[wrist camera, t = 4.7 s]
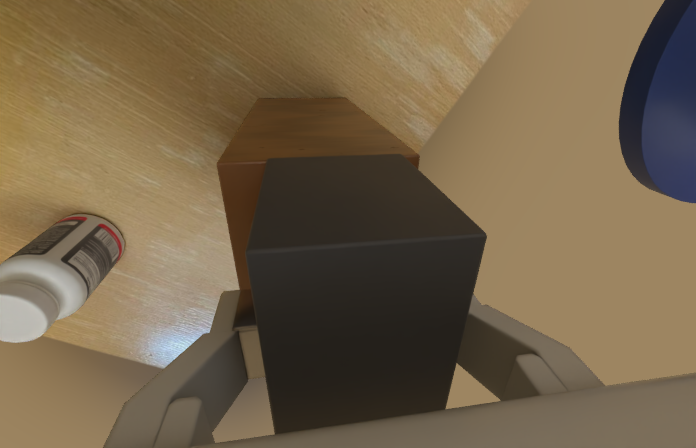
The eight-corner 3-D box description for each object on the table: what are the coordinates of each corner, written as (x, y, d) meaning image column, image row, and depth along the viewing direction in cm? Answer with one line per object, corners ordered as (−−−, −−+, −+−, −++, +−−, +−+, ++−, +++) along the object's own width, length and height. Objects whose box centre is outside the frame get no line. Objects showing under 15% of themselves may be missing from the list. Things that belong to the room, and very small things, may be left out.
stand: (346, 97, 26) (420, 154, 12) (345, 179, 30) (403, 305, 15) (257, 98, 25) (215, 162, 11) (267, 182, 29) (245, 322, 14)
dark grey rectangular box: (401, 152, 10) (489, 234, 5) (385, 341, 14) (429, 479, 9) (266, 157, 9) (243, 251, 5) (288, 353, 13) (286, 505, 9)
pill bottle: (52, 255, 29) (-49, 341, 20) (59, 203, 27) (-50, 274, 18) (120, 271, 30) (55, 357, 22) (132, 224, 28) (64, 297, 20)
